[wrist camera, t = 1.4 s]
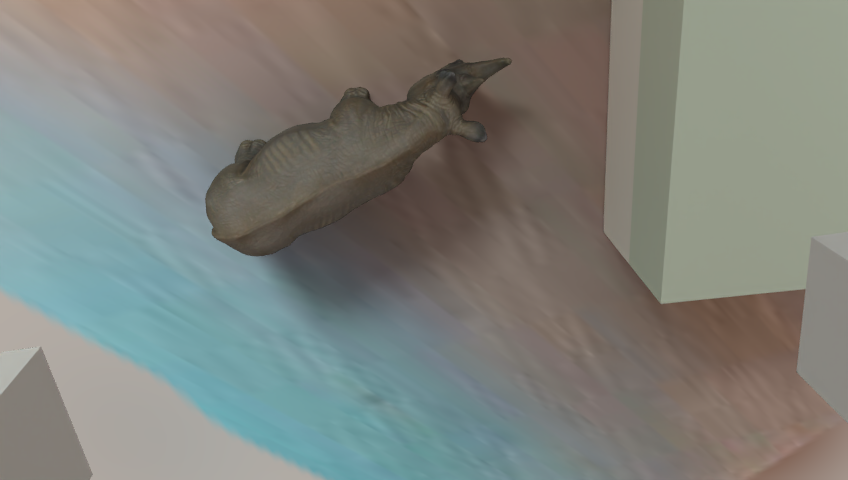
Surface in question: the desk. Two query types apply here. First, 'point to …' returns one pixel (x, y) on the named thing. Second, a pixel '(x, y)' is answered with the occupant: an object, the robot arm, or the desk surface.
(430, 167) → the desk surface
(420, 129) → the rhino figurine
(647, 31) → the block
